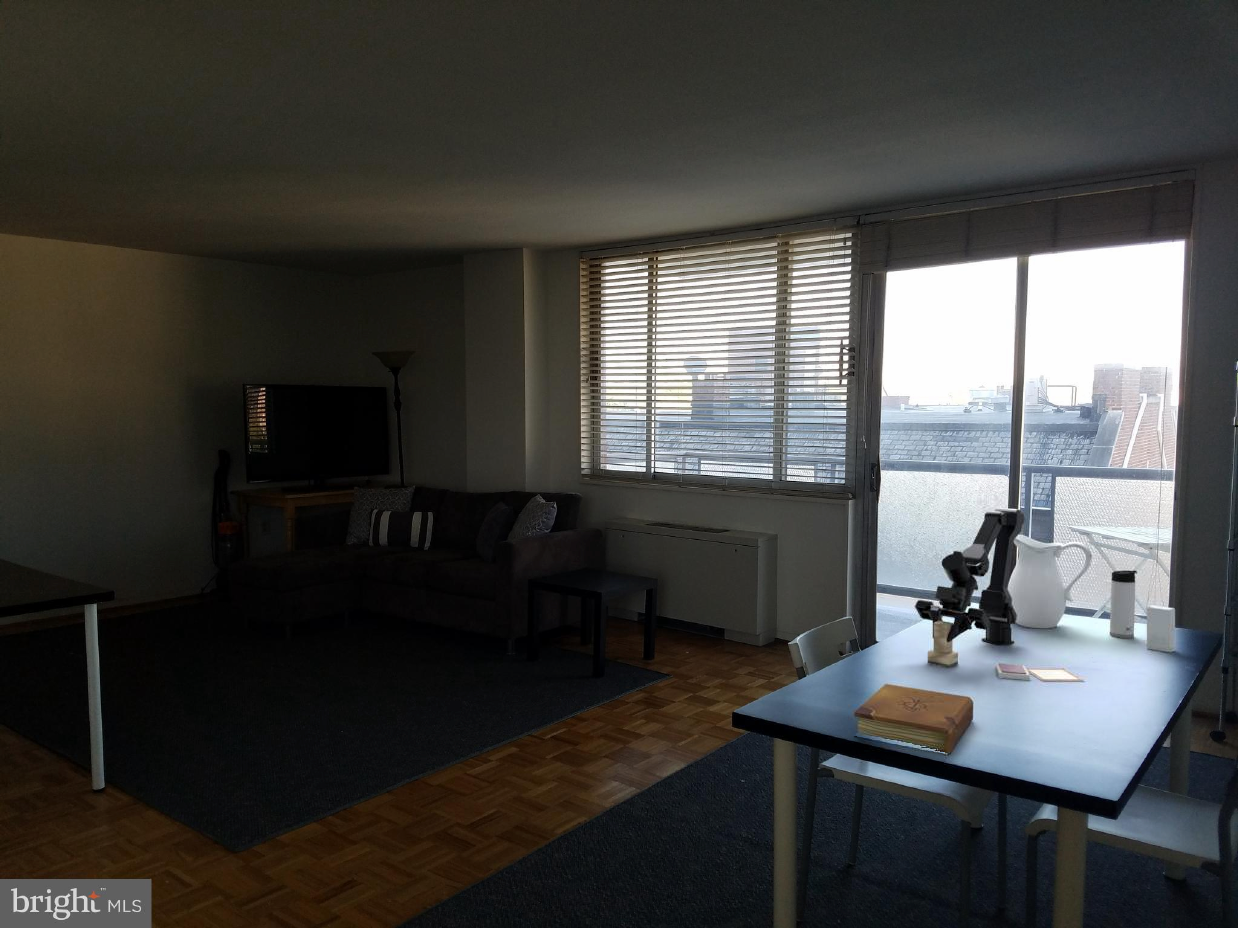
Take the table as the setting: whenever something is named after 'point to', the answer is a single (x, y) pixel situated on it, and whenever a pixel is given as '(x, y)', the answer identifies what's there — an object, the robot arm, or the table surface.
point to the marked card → (1053, 674)
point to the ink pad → (1012, 671)
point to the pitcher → (1041, 582)
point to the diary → (916, 716)
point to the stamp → (942, 646)
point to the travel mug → (1122, 604)
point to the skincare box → (1161, 628)
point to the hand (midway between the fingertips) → (940, 639)
